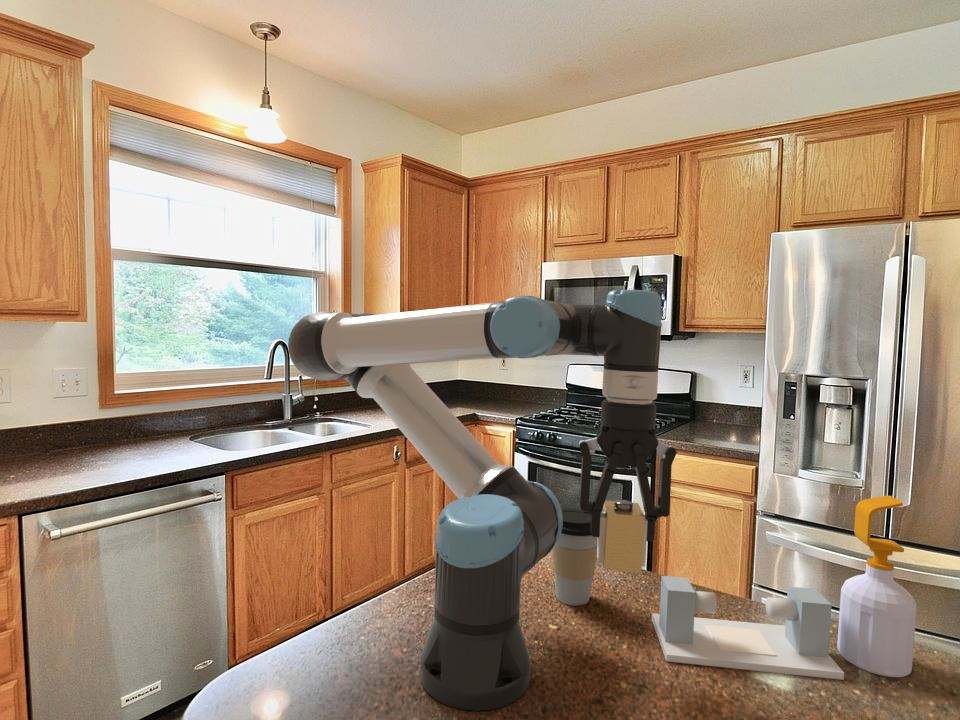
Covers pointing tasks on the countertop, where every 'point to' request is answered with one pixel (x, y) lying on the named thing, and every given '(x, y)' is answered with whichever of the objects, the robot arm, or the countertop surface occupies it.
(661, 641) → the shaft rig
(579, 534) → the coffee cup
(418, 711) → the countertop surface
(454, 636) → the robot arm
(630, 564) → the block
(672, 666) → the countertop surface
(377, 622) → the countertop surface
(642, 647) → the countertop surface
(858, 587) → the soap bottle
